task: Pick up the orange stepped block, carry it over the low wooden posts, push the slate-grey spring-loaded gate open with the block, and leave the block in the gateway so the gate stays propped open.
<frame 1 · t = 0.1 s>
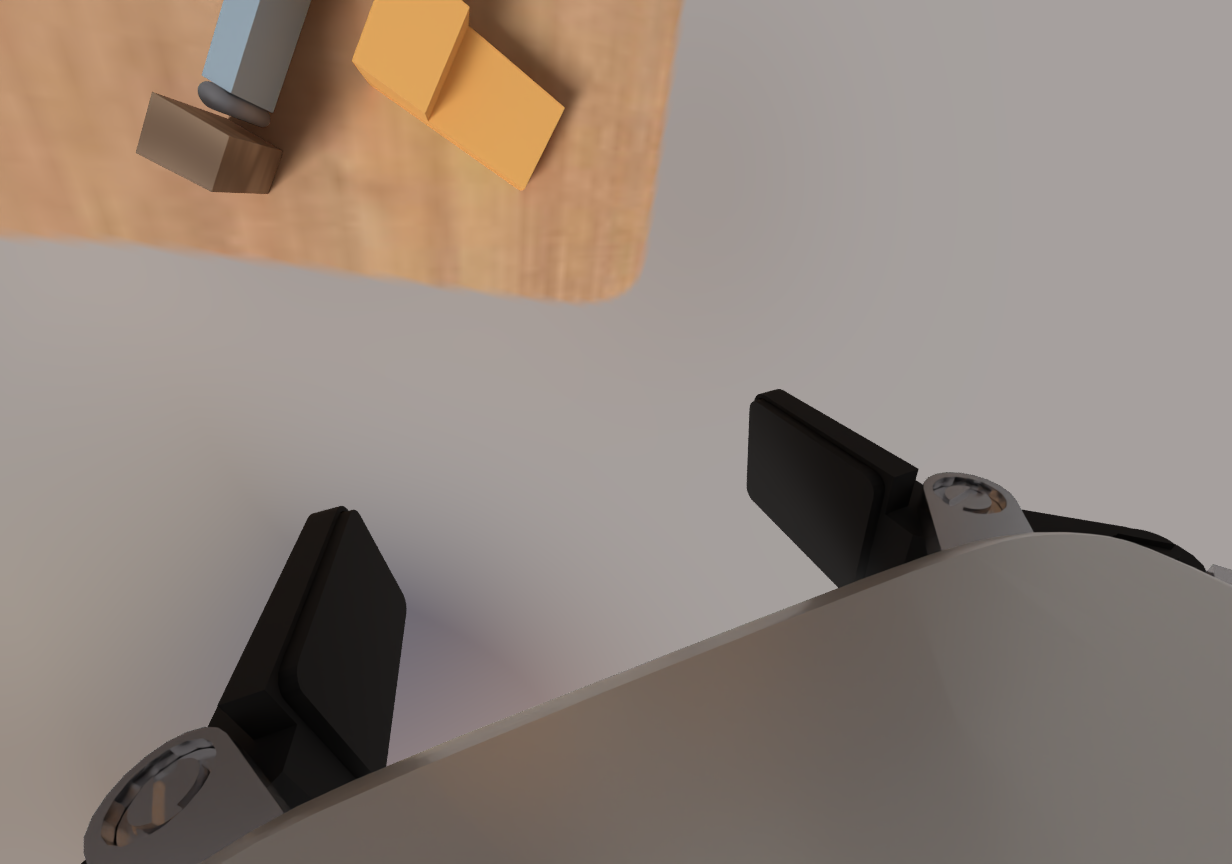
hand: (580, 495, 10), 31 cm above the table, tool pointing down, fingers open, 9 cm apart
orange stepped block: (469, 101, 31), on the table
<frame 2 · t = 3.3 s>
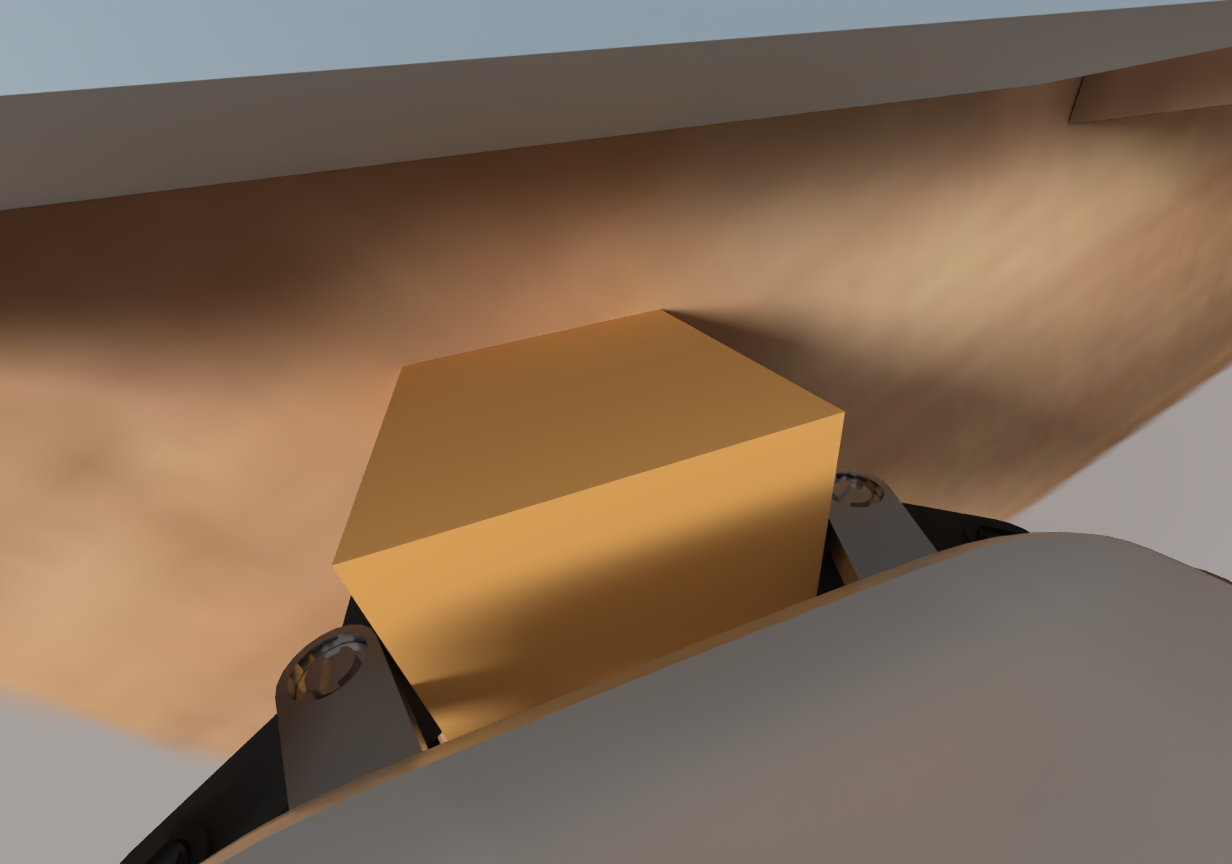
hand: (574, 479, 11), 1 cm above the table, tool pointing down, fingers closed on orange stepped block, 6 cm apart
wooden posts: (710, 90, 9), on the table
orange stepped block: (580, 517, 13), on the table, touching gripper
gate door: (666, 45, 5), point 4 cm above the table, hinge at 0.0°
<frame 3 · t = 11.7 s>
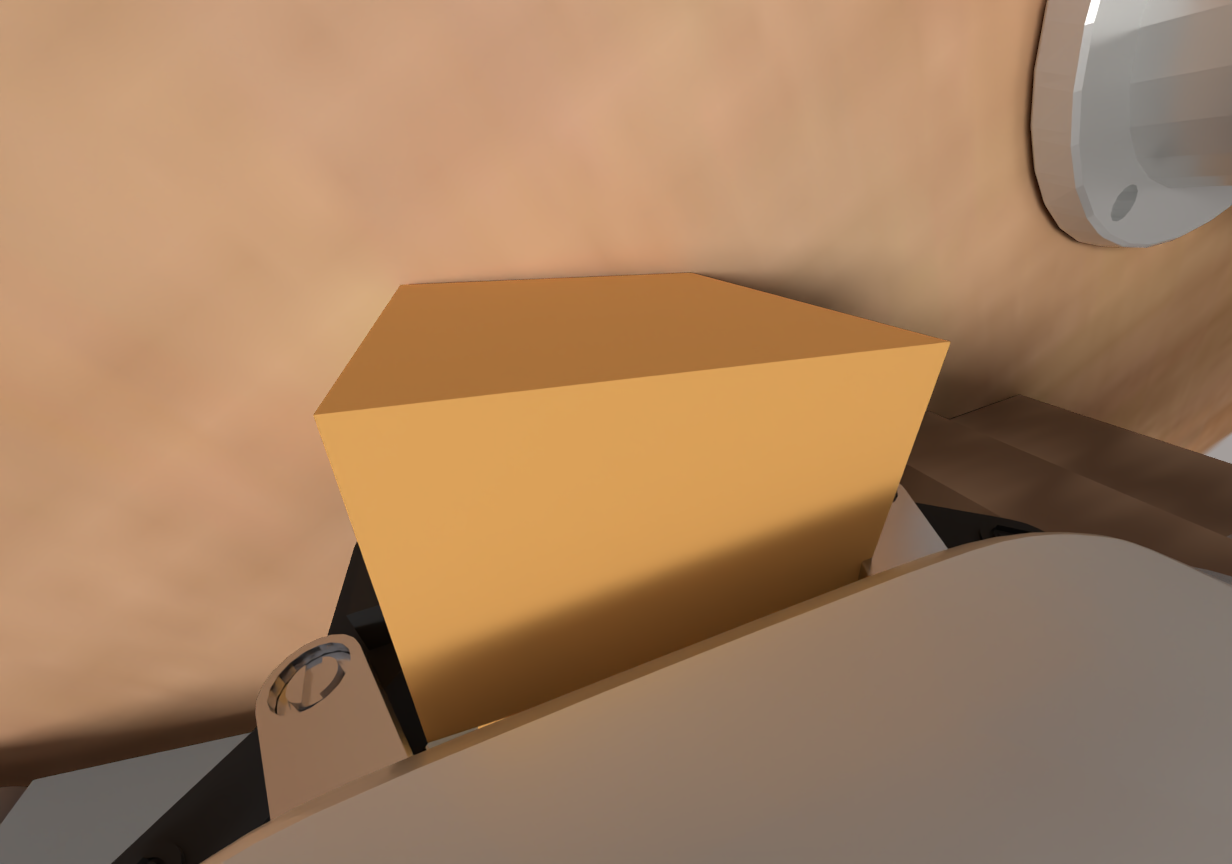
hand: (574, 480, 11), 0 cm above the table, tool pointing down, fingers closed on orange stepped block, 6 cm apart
wooden posts: (554, 581, 13), on the table
orange stepped block: (571, 498, 11), on the table, touching gate door, gripper
gate door: (492, 813, 10), point 4 cm above the table, hinge at 16.3°, touching orange stepped block
when the fingers open (0 cm above the table, at t = 12.8 s): orange stepped block stays where it is, on the table.
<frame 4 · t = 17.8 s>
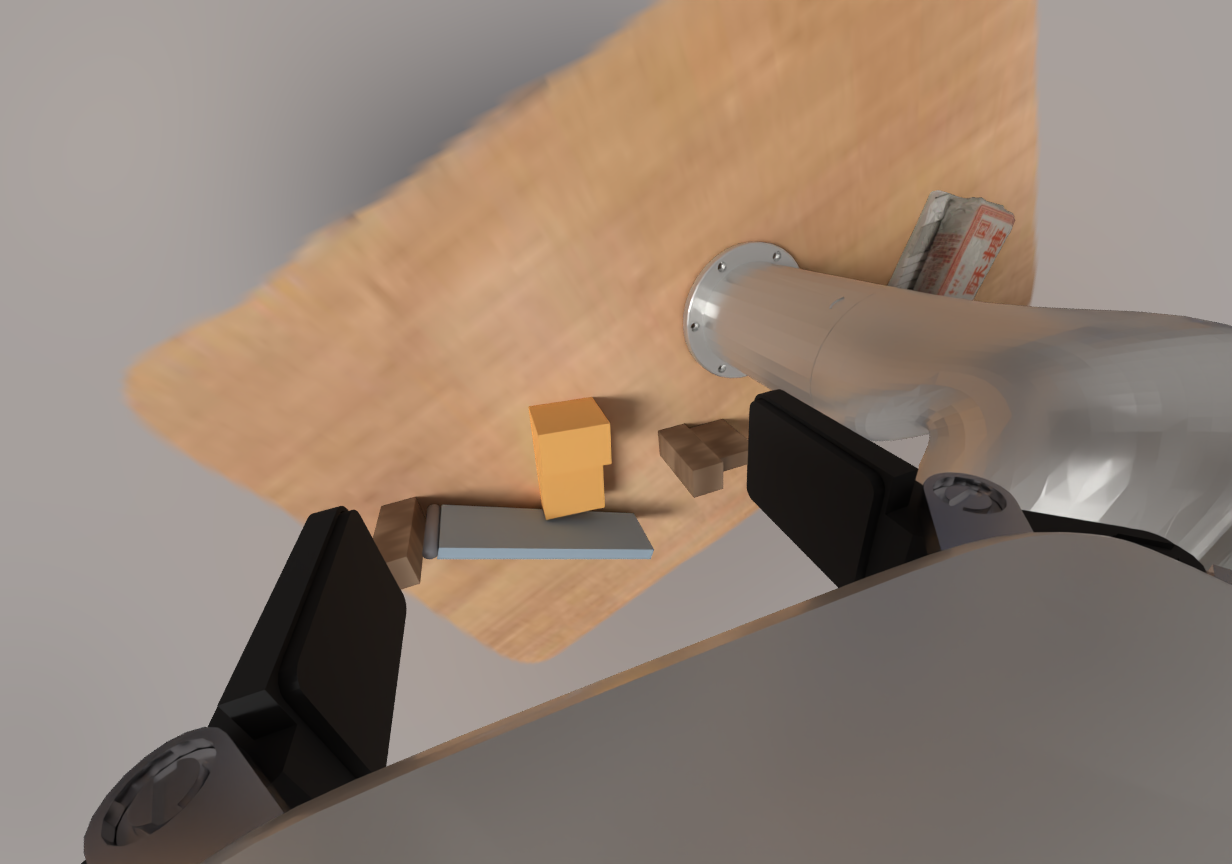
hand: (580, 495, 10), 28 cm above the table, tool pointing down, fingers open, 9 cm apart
wooden posts: (562, 470, 44), on the table
orange stepped block: (565, 451, 43), on the table
gate door: (543, 532, 42), point 4 cm above the table, hinge at 23.7°
packaged product: (914, 290, 48), on the table
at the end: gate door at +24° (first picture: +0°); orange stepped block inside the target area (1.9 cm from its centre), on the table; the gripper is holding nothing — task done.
